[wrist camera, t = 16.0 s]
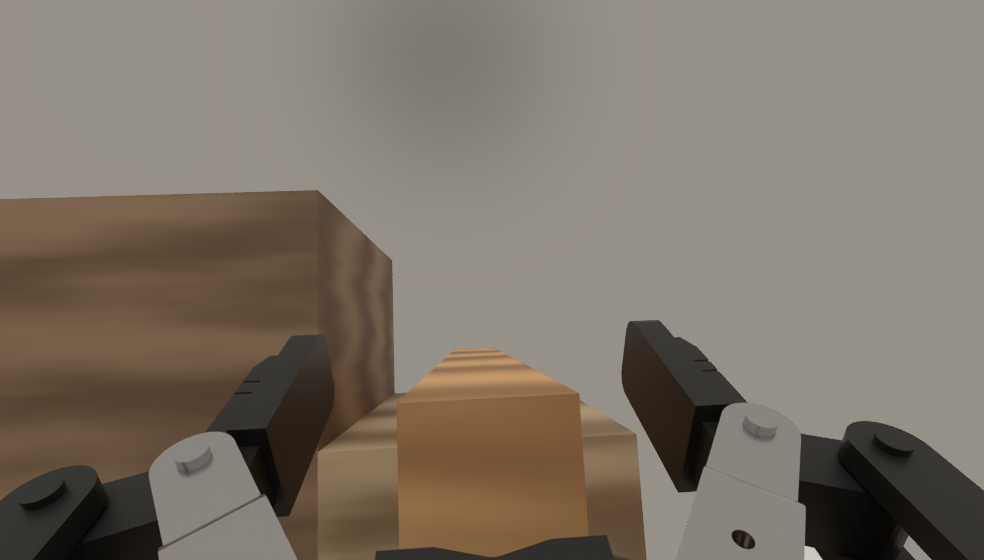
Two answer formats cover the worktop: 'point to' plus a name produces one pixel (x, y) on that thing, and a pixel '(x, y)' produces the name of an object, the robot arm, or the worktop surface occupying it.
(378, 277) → the box
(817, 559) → the sprinkles bottle
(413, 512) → the dowel
